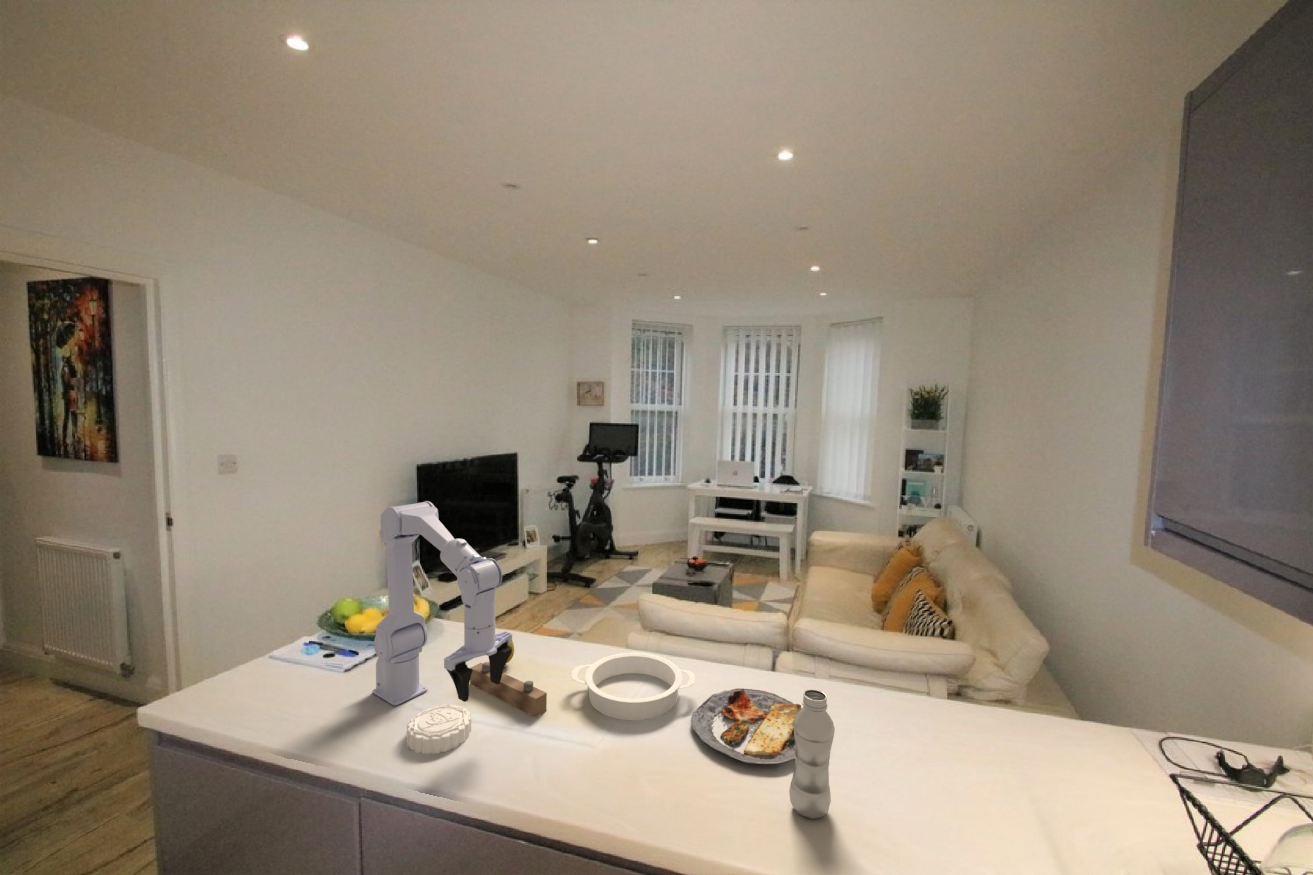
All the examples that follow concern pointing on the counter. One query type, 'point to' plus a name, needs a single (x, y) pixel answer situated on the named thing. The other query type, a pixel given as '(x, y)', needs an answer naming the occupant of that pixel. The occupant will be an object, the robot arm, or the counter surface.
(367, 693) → the counter surface
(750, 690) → the food plate
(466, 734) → the mooncake
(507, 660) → the lemon
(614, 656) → the pot
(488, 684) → the bar
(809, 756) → the plastic bottle
